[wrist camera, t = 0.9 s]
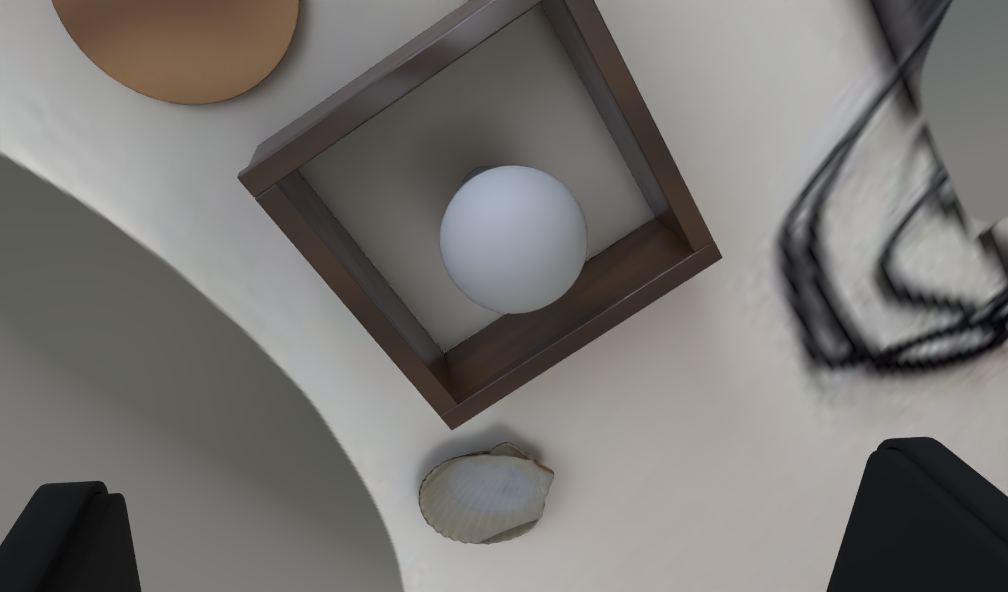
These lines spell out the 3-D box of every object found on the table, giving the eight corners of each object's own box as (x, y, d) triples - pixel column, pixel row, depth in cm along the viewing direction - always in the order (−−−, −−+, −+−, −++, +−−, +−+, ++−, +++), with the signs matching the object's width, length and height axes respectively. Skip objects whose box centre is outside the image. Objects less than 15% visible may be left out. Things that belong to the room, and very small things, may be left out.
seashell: (401, 470, 45) (485, 551, 47) (390, 500, 43) (479, 585, 44) (497, 399, 43) (582, 487, 45) (492, 426, 40) (583, 519, 42)
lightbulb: (520, 252, 39) (578, 350, 29) (410, 229, 37) (432, 325, 27) (554, 143, 37) (630, 209, 27) (439, 112, 35) (475, 172, 25)
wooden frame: (252, 145, 34) (235, 177, 29) (535, -50, 33) (568, -52, 28) (439, 374, 41) (451, 431, 36) (676, 221, 40) (723, 257, 35)
